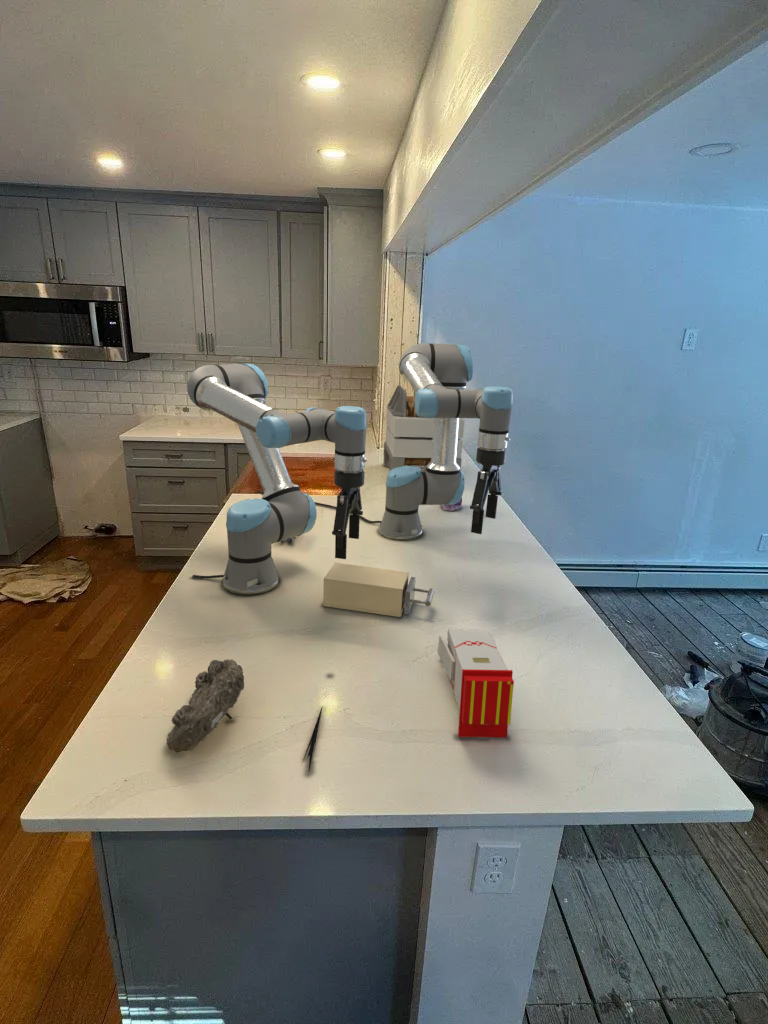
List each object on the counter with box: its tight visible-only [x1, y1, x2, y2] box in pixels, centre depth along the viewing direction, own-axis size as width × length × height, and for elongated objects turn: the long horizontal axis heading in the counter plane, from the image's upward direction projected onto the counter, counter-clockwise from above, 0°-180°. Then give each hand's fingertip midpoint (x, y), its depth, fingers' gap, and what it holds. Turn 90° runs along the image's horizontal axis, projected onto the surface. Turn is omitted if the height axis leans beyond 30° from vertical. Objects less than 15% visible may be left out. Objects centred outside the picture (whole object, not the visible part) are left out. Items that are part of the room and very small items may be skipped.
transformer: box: [383, 384, 465, 472], centre depth 268 cm, size 34×33×41 cm
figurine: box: [441, 497, 463, 512], centre depth 226 cm, size 9×10×15 cm
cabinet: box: [323, 562, 410, 618], centre depth 151 cm, size 21×10×8 cm, turn 78°
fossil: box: [166, 658, 245, 754], centre depth 106 cm, size 22×10×15 cm
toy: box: [437, 628, 515, 738], centre depth 117 cm, size 12×13×30 cm
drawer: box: [402, 576, 435, 615], centre depth 150 cm, size 25×9×6 cm, turn 78°
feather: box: [301, 673, 332, 771], centre depth 108 cm, size 2×28×2 cm
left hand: (347, 547), depth 149 cm, fingers open, 13 cm apart
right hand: (483, 525), depth 153 cm, fingers open, 13 cm apart
